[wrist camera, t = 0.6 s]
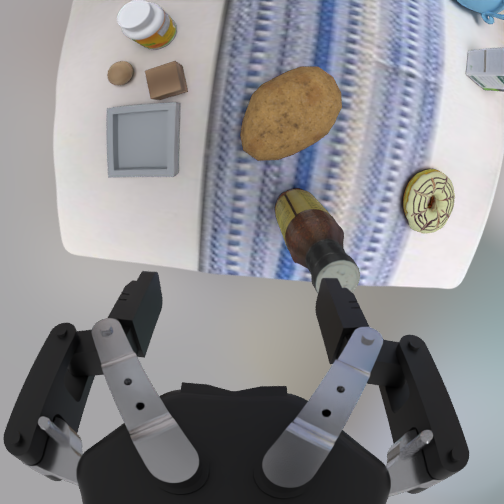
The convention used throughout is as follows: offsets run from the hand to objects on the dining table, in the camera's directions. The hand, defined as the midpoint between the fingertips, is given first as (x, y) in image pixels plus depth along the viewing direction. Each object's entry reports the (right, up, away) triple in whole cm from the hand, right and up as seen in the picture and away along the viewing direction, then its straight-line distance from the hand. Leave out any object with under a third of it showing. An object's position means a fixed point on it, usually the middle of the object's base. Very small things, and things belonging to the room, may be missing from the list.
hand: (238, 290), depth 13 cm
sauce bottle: (+7, +9, +26) cm, 28 cm away
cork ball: (-17, +26, +14) cm, 34 cm away
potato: (+5, +20, +20) cm, 29 cm away
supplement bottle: (-12, +32, +13) cm, 37 cm away
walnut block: (-10, +25, +17) cm, 32 cm away
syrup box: (+40, +34, +13) cm, 54 cm away
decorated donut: (+29, +11, +26) cm, 40 cm away
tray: (-14, +18, +21) cm, 31 cm away
